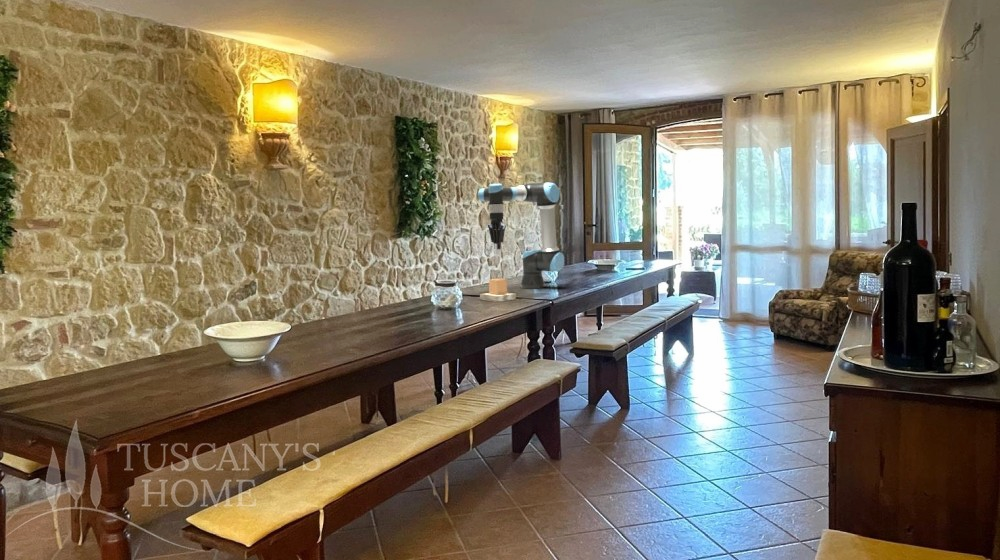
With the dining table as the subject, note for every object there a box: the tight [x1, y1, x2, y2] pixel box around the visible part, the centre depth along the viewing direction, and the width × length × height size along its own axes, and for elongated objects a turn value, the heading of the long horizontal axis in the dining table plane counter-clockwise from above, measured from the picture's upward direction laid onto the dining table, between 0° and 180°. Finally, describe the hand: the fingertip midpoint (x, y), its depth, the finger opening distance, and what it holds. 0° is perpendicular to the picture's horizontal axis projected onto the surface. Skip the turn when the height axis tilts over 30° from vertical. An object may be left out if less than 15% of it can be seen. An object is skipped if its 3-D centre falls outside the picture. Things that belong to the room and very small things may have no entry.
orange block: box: [488, 278, 508, 295], centre depth 385 cm, size 7×7×8 cm
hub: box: [479, 292, 517, 303], centre depth 386 cm, size 14×14×7 cm
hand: (497, 255), depth 385 cm, fingers closed
